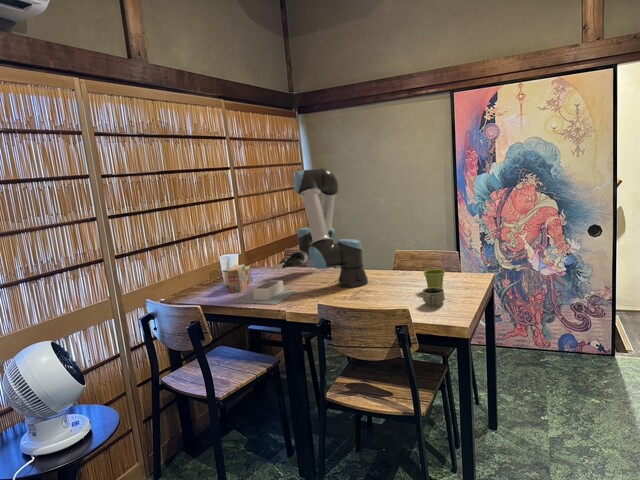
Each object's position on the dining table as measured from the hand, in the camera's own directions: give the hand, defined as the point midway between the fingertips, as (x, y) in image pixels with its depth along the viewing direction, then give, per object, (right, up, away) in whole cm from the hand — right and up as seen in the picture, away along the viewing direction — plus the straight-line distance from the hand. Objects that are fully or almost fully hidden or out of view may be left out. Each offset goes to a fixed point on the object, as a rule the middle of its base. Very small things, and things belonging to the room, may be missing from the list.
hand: (278, 268), depth 225 cm
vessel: (+69, -12, -47) cm, 84 cm away
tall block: (-1, -9, -2) cm, 9 cm away
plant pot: (+75, -9, -28) cm, 80 cm away
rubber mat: (-5, -14, -12) cm, 19 cm away
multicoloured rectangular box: (-22, -12, +14) cm, 29 cm away
